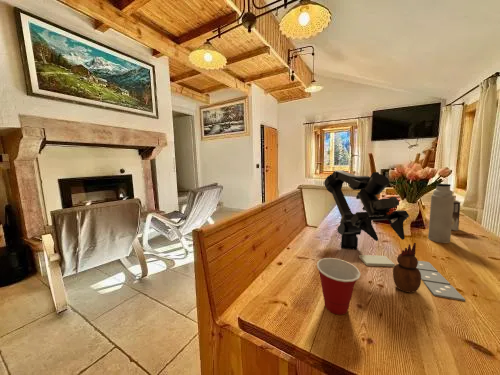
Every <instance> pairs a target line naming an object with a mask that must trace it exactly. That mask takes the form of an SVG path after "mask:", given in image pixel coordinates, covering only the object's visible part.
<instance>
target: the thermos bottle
mask: <svg viewBox="0 0 500 375" xmlns="http://www.w3.org/2000/svg"><path fill="white" fill-rule="evenodd" d="M451 186H452V185H451V184H450V183H437V184H436V188H435V189H434V190H433V194H431V196H430V207H429V211H430V212H429V221H428V222H429V223H428V237H427V238H428V240H429V241H432V242H437V243H443V244H448V243H450V242H451V237H452V236H451V235H452V230H451V226H452V215H453V204H454V201H455V196H454V195H453V191H452V190H451Z"/></svg>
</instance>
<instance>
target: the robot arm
mask: <svg viewBox="0 0 500 375" xmlns="http://www.w3.org/2000/svg"><path fill="white" fill-rule="evenodd" d="M344 183H346V184H348V187H349V188H350V189H351V190H352V191H359V192H357V194H356V197H355V198H356V200H360V203H361V204H362V206H363V207H362V210H363V211H356V212H355V213H353V212H352V210H351V208H350V206H349V203H348V201H347V199H346V197H345V195H344V193H343V191H342V188H343V184H344ZM389 184H390V179H389V177H387V176H385V175H384V174H380V172H379V171H373V172H372V173H371V175H370V176H368V175H355V174H354V173H351V172H347V171H345V170H340V169H339V170H334V171H333V172H332V173H331V174H329V175H328V176H326V178H325V180H324V181H323V185H324V186H325V188H326V191H327V192H329V193H330V194H331V195H332V197H333V199H334V201H335V202H334V203H335V204H336V206H337V209H338V211H339V214H340V221H339V225H338V227H337V233H338V234H339V235H341V237H340V246H341V247H340V248H342V249H349V250H350V249H351V250H357V249H358V245H359V244H358V243H359V238H358V235H359V236H360V235H361V234H362V231H363V232H364V233H366V234H367V235H368V236H369V237H371V238H372V240H374V241H376V242H378V241H379V237H378V234H377V232H376V231H375V229H374V227H373V224H372V222H373V221H374V222H375V221H388V223H389V224H390V227H391V229H392V230H393V231H394V232H395V234H396V235H397V236H398V238H400V239H401V240H402V241H403V240H405V237H406V236H405V231H404V222H405V221H406V220H408V218H409V217H410V214H409V213H408V212H407V210H403V209H400V210H393V211H392V212H391V213H390V211H391V210H390V209H396V208H397V206H400V200H399V199H398V198H397V197H396V196H391V197H388V198H381V199H379V197H378V196H379V195H380V194H381V193H382V192H383V191H384V190H385V189H386V187H387V186H388V185H389ZM387 213H390V214H387Z"/></svg>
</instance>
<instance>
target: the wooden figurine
mask: <svg viewBox="0 0 500 375" xmlns="http://www.w3.org/2000/svg"><path fill="white" fill-rule="evenodd" d="M416 245H417V244H416V242H413V245H411V244H410V243H409V244H408V247H405V248H404V249H402V250H401V253H399V254H398V255H397V259H396V260H397V264H395V266H394V267H393V269H392V277H393V282H394V284H395V286H396V288H398V290H401V291H403V292H406V293H415V292H417V291H418V290H419V289H420V286H421V284H422V280H421V273H420V271H419V270H418V268H416V267H417V265H418V261H419V260H418V258H417V256H416V247H417V246H416ZM411 246H412V248H411Z"/></svg>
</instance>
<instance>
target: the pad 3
mask: <svg viewBox="0 0 500 375" xmlns="http://www.w3.org/2000/svg"><path fill="white" fill-rule="evenodd" d="M423 284H424V285H425V286H426V288H427V289H428V290H429V291H430V293H431V294H432V295H433V297H440V298H445V299H450V300H451V299H452V300H457V301H463V302H465V301H466V299H465V297H464V296H463V295H462V294H461V293H459V291H457V288H455V287H454V286H453V285H451V284H450V285H446V284H439V283H433V282H426V281H423Z"/></svg>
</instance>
